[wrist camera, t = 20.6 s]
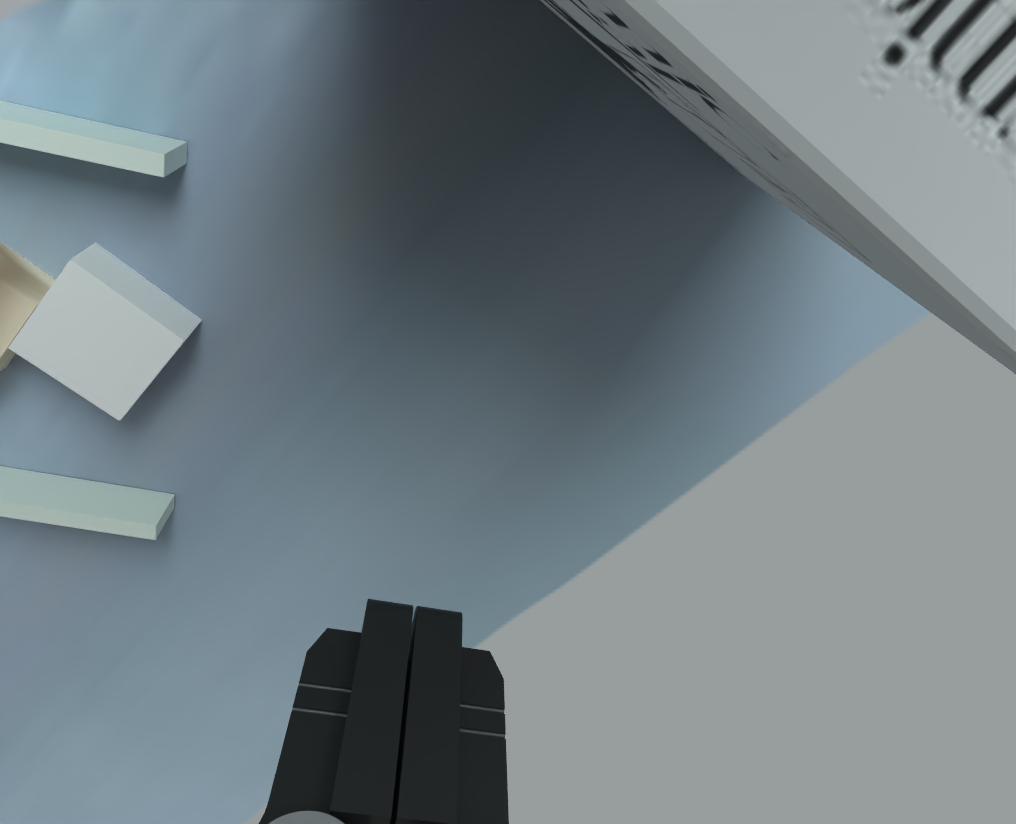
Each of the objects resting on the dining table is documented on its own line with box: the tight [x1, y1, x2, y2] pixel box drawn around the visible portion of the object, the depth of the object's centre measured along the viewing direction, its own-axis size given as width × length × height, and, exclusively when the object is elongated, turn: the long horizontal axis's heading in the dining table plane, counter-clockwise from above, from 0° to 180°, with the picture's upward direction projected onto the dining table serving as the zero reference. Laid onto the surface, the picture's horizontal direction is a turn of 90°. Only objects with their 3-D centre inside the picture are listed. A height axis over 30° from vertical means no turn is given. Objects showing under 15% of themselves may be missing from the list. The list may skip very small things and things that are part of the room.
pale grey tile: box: [8, 242, 202, 421], centre depth 39 cm, size 6×6×3 cm
